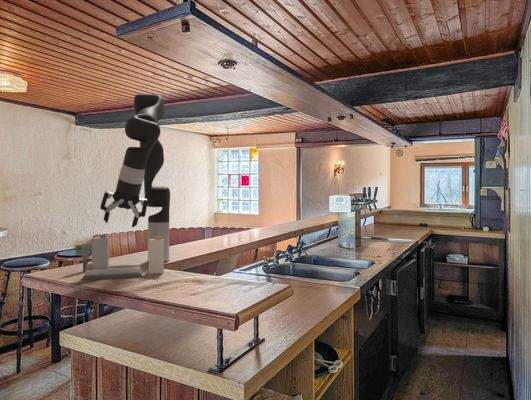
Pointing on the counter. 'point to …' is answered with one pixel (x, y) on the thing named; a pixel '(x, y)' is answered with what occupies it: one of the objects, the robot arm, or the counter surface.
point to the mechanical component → (84, 253)
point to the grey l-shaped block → (107, 263)
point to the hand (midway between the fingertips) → (119, 224)
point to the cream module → (156, 255)
